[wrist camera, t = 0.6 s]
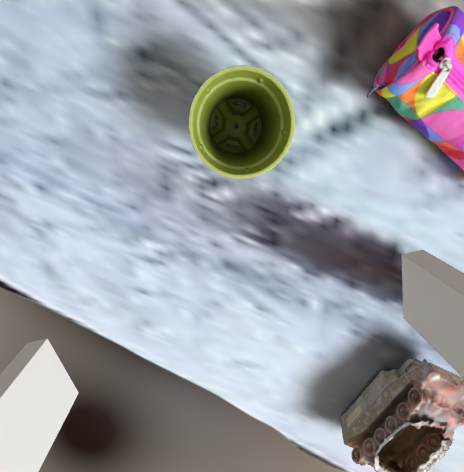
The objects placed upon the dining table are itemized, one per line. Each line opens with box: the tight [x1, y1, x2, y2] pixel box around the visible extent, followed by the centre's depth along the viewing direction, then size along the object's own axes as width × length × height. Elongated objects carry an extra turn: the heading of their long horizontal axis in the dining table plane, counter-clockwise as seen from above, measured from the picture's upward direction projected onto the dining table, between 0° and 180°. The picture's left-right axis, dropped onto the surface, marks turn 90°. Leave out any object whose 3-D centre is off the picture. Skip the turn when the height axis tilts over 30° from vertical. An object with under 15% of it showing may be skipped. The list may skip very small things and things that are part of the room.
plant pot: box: [189, 65, 295, 179], centre depth 30 cm, size 9×9×9 cm
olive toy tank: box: [340, 359, 464, 472], centre depth 44 cm, size 13×20×10 cm, turn 146°
